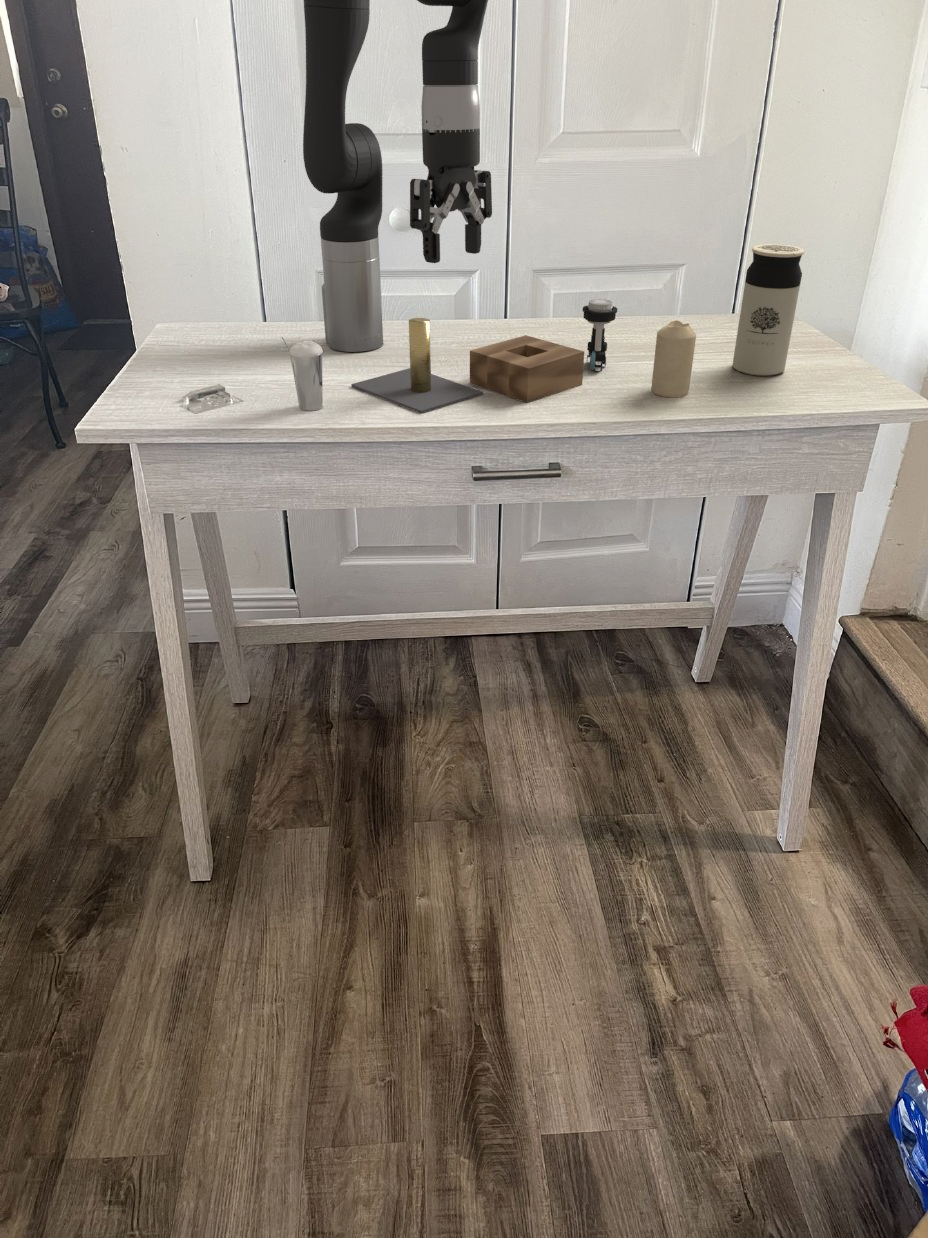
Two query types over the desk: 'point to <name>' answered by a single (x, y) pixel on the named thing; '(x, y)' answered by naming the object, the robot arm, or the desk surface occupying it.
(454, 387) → the mat
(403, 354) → the desk surface
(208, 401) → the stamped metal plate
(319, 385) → the milkshake
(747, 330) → the travel mug
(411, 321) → the pin
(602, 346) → the push button
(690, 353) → the candle
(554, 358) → the socket block
